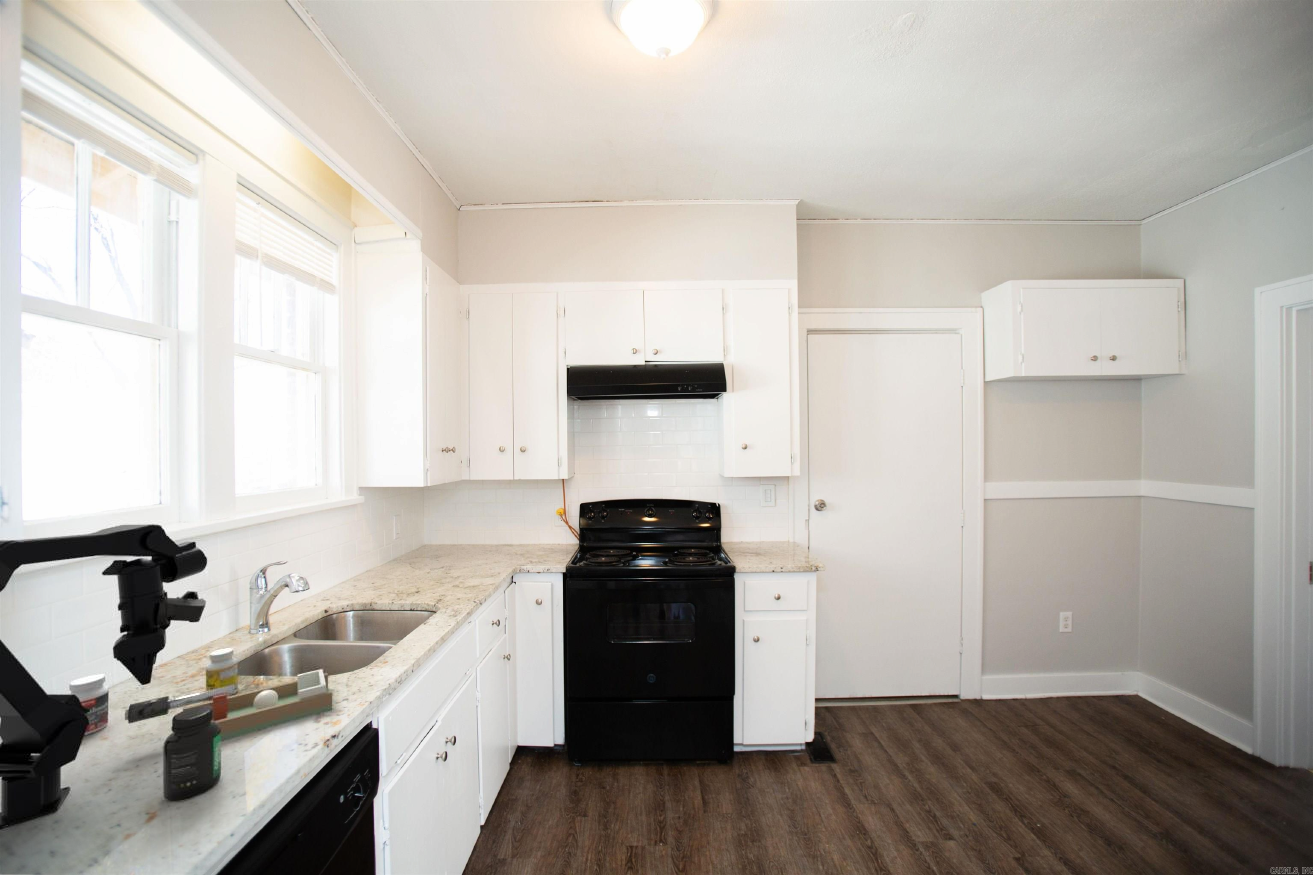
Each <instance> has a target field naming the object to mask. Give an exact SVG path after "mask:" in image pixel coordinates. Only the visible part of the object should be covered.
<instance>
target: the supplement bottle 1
mask: <svg viewBox="0 0 1313 875" xmlns="http://www.w3.org/2000/svg"><path fill="white" fill-rule="evenodd" d="M212 720H213V708H212V706H198V707H194V708H190V709H187V710H184V711H183V710H182V711H180V712H179V713H177V714H175V715H174V716H173V717H172V719H171V728H170V729H171V733H170V734H169V735H168V736H167V737H166V738H165V740H164V742H163V746H162V749H163V750H162V756H163V757H162V758H163V759H162V763H163V764H162V765H163V766H162V768H163V769H162V770H163V771H162V775H163V776H162V783H163V784H162V788H163V789H162V792H163V793H162V794H163V798H164V799H165V800H166V801H168V802H172V801H176V802H182V800H183V801H186V799H187V800H189V799H193V798H195V797H198V796H201V795H202V794H205V793H207V792H208V791H210V790H211V789H213V788H214V787H215V786H216V785H217V784H218V783H219V782H220V780H221V776H222V740H221V727H220V725H219V724H218V723H216V722H214V721H212ZM209 789H210V790H209Z"/></svg>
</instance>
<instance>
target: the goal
mask: <svg viewBox="0 0 1313 875" xmlns="http://www.w3.org/2000/svg"><path fill="white" fill-rule="evenodd" d="M324 674H325V673H324V669H323V668H320V669H317V670H312V671H308V672H304V673H300V674H297V678H296V679H297V693H298V694H299V699H302V698H306V697H310V696H313V695H317V694H321V693H325V692H326V683H325V678H324Z"/></svg>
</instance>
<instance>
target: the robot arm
mask: <svg viewBox="0 0 1313 875" xmlns="http://www.w3.org/2000/svg"><path fill="white" fill-rule="evenodd" d="M98 556H99V557H137V558H135V559H132V560H129V561H128V560H127V559H115V560H113V561H112V563H111V564H110V565H109V566H107V567H106V568H105V569H104V570H103V571H102V572H101V575H102V576H117V585H118V586H117V587H118V600H119V602H118V604H117V611H120V620H121V625H120V627H119V633H120V634H122V635H121V636H120V637H118V639H117V640H115V642H114V645H113V646H112V654H113V659H115V660H116V661H118V662H120V664H121V665H123V667H124V668H125V669H127V670H128V671H129V673H131V675H132V676H133V677H134V679H136V680H137V682H138V683H139V684H140V685H141V686H145V685H149V684H151V682H152V676H153V669H154V665H155V664H156V663H157V655H158V654H159V653H160V652H161V651H163V650H164V649H165V647H166V644H167V632H166V630H167V629H168V628H169V627H170V626H171V622H172V621H177V622H179V621H180V622H189V623H199V622H200V620H201V618H202V615H203V613H204V610H205V607H206V603H207V601H206V600H205V599H204V598H199V594H198V591H196V590H195V591H193V590H188V591H187V592H185V593H184V594H183V595H182V596H177V597H168V591H166V590H165V589H164V584H170V583H174V582H176V581H180V580H182V579H185V578H189V577H191V576H194V575H197V574H200V573H202V572H203V571H205V569H206V567H207V565H208V558H207V556H206V554H205V553H204V552H203V550H202V549H200V548H199V547H197V544H196V541H184V542H181V543H178V544H177V543H176V542H175V541H174V540H173V539H172V538H170V536H168V535H167V533H166V531H165V529H164V528H163V527H162V525H159V524H151V523H150V524H146V523H145V524H144V523H143V524H120V525H115V526H112V527H111V526H110V527H107V528H102V529H100V530H97V531H95V532H92V533H85V534H75V535H73V534H72V535H64V536H63V535H61V536H51V537H50V536H49V537H48V536H47V537H40V538H39V537H37V538H25V539H16V540H15V539H11V540H10V539H7V540H6V539H5V540H4V539H3V540H0V593H1V592H2V591H4V589H5V588H6V587H7V585H8V583H9V581H10V579H11V577H12V576H13V574H14V572H15V571H16V570H17V569H19V568H20V567H21V566H24V565H31V564H32V565H33V564H39V563H41V564H42V563H48V562H57V561H58V562H59V561H65V560H72V559H81V558H82V559H83V558H89V557H90V558H91V557H98ZM138 557H139V558H138ZM142 557H143V558H142ZM147 557H151V559H148V558H147ZM88 712H90V710H89V709H86V708H84V707H83V706H82V704H81V702H80V700H79V698H78V697H77V696H76V695H74V694H70V693H67V694H60V693H59V694H54V693H53V694H48V693H47V692H46V691H45V689H44V688H43V687H42V686H41V684H39V683H38V681H37V680H36V679H35V678H34V677H33V676H32V674H30V672H29V671H28V670H27V669H26V667H25V666H24V665H23V664H22V663H21V662H20V661H19V659H18V658H17V657H16V656H15V655H14V654H13V652H12V651H11V650H10V649H9V647H7V645H6V644H5V643H4V642H3V641H2V639H0V738H1V743H0V778H1V779H0V780H1V781H0V782H1V784H0V786H1V788H0V789H1V792H0V793H1V795H0V796H1V797H0V798H1V799H0V801H1V802H0V808H1V809H0V829H1V828H4V826H5V827H7V826H6V825H8V826H11V824H12V825H14V824H18V823H22V822H25V821H28V820H32V819H35V818H38V817H42V816H45V815H48V814H52V813H54V812H56V811H57V810H59V808H60V807H61V805H62V804H63V802H64V800H65V798H66V797H67V795H68V793H69V792H70V791H71V790H70V789H71V787H70V786H66V787H62V767H64V766H66V765H68V764H70V763H71V762H73V761H75V760H76V758H77V756H78V754H79V751H80V748H81V745H82V742H83V740H84V737H85V735H84V734H85V732H86V729H87V726H89V724H90V723H89V718H88V716H87V715H86V713H88Z"/></svg>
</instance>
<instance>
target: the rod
mask: <svg viewBox="0 0 1313 875" xmlns="http://www.w3.org/2000/svg"><path fill="white" fill-rule="evenodd" d="M229 695H231V696H233V695H235V693H234V685H230V686H226V687H222V688H217V689H213V690H209V691H206V690H205V691H200V692H196V693H192V694H188V695H187V694H186V695H183V696H180V697H176V698H175V697H174V698H171V699H170V695H166V696H163V697H157V698H153V699H148V700H143V701H140V702H135V703H131V704H130V705H129V707H128V709H127V708H126V709H125V712H124V721H127V723H128V724H133V723H138V722H141V721H145V720H149V719H155V718H157V717H161V716H165V715H166V716H167V715H168V714H169V712H170V710H174V709H179V708H184V707H188V706H192V705H196V704H200V703H204V702H208V701H213V721H217V720H221V719H225V718H228V697H229ZM212 699H213V700H212Z"/></svg>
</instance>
